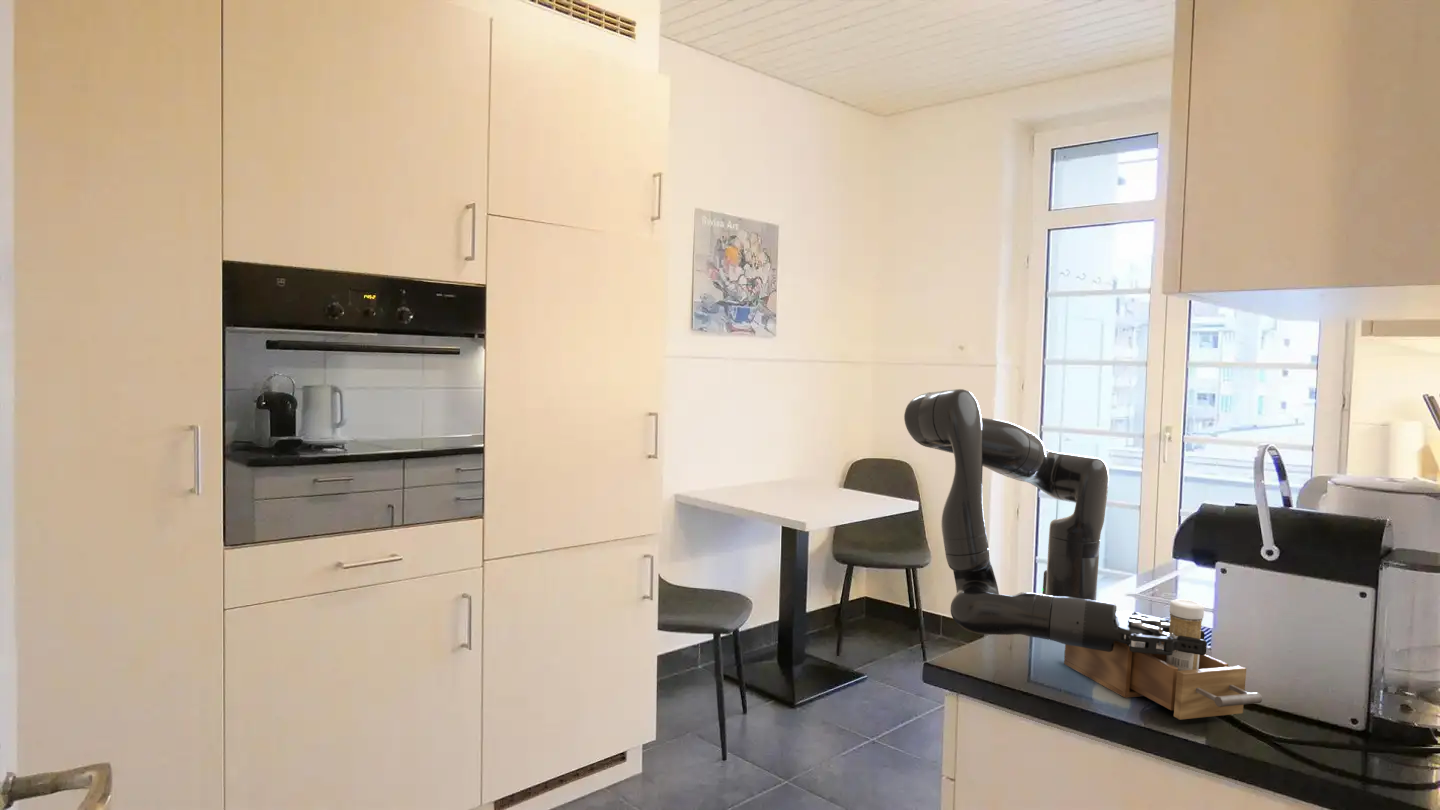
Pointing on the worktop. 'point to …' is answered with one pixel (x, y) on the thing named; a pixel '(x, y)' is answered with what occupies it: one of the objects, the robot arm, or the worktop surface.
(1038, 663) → the worktop surface
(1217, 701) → the drawer
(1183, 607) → the sprinkles bottle
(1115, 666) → the cabinet
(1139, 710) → the worktop surface
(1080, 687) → the worktop surface
